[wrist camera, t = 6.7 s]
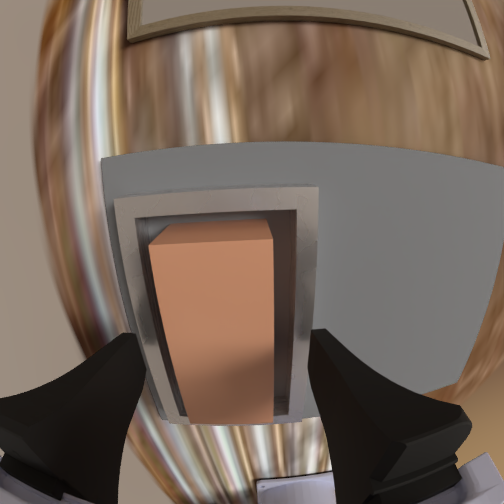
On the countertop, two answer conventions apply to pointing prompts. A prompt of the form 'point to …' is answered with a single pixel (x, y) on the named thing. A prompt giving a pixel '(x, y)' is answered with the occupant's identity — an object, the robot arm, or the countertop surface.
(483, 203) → the mat
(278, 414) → the tray frame
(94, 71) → the countertop surface
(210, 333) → the tall peach block
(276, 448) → the countertop surface
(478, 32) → the framed mirror
